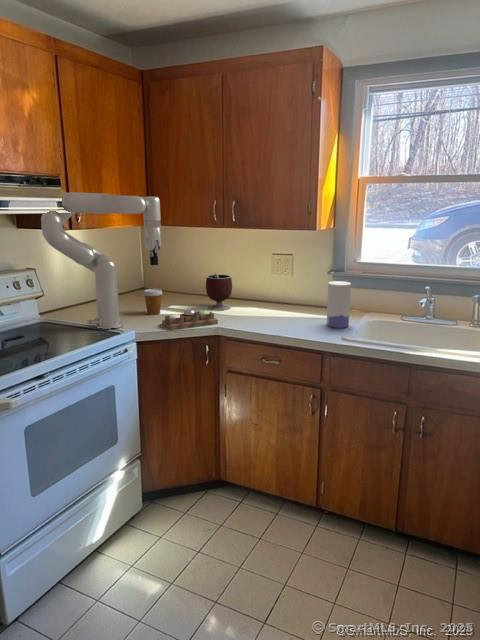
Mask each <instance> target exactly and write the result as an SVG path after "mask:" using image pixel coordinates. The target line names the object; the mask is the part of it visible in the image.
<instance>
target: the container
mask: <svg viewBox="0 0 480 640" xmlns="http://www.w3.org/2000/svg"><path fill="white" fill-rule="evenodd" d="M327 286H328V287H327V288H328V289H327V306H326V307H327V309H326V326H328V327H330V328H335V329H344V328H348V327H349V323H350V321H349V320H350V307H351V306H350V305H351V288H352V287H351V286H352V283H351V282H349V281H344V280H343V281H341V280H337V281H336V280H335V281H329V282H328V285H327Z"/></svg>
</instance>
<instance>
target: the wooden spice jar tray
mask: <svg viewBox="0 0 480 640" xmlns="http://www.w3.org/2000/svg"><path fill="white" fill-rule="evenodd" d="M169 315H170V314H169ZM169 315H165V316H164V319H162V320H161V322H162V323H161V324H162V325H163V326H164V327H166V328H167V329H169V330H170V331H176V330H183V329H185V330H186V329H191V328H197V327H204V326H206V327H207V326H212V325H218V324H219V322H218V319H217V318H215V313H214V312H211V311H210V314H204V315H201V314H199V311H195V316H188V317H186V316H184V313H180V314H179V313H178V315H180V318H172V319H171V318H169Z"/></svg>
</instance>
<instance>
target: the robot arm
mask: <svg viewBox="0 0 480 640" xmlns="http://www.w3.org/2000/svg"><path fill="white" fill-rule="evenodd" d="M62 196H63V197H62ZM62 196H61V197H62V206H63V208H64V209H65V210H66V211H68V212H71V213H58V212H56V211H49V212H47V213H44V212H43V213H42V214H41V218H40V221H41V233H42V236H43V237H44V240H45V241H46V242H47V244H48V245H50V246H51V247H52V248H53V249H55V250H56V251H57V252H59V253H61V254H62V255H64V256H65V257H68V258H69V259H70V260H72V261H73V262H74V263H76V264H78V265H81V266H82V267H84V268H86V269H87V270H89V271H91V272H93V273H94V280H95V284H94V286H95V295H96V296H95V297H96V308H97V309H96V310H97V316H96V318H94V319H88V320H87V325H94V327H95V326H96V327H101V328H117V329H120V328H123V326H124V322H123V321H121V319H120V304H119V303H120V301H119V290H118V266H117V264H116V262H115V261H114V260H113V259H112V258H111V257H109V256H108V255H106V254H104V253H102V252H101V251H99V250H97V249H96V248H95V247H93V246H91V245H90V244H88V243H87V242H83V241H81V240H79V239H77V238H75V237H74V236H73V235H71V234H69V233H68V232H67V231H66V230H65V229H64V223H66V221H68V220H69V219H70V218H71V217H72V216H73V215H74V214H94V215H95V214H97V215H98V214H105V215H108V214H124V215H125V214H128V215H129V214H130V215H140V214H142V213H143V229H144V249H146V250H148V251H149V261H150V262H149V264H150V265H151V266H158V265H159V258H158V257H159V252H160V250H161V249H162V239H161V230H160V229H161V228H162V223H161V221H162V219H161V202H160V201H161V200H160V198H159V197H158V196H143V197H142V196H139V195H119V194H118V195H117V194H109V193H102V192H101V193H99V192H97V193H95V192H75V191H72V192H66V193H64V194H63V195H62ZM96 327H95V328H96Z"/></svg>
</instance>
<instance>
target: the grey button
mask: <svg viewBox="0 0 480 640" xmlns="http://www.w3.org/2000/svg"><path fill="white" fill-rule="evenodd" d="M195 312H196V310H195V309H185V310H184V313H183V314H184V316H186V317H188V316H195Z"/></svg>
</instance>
